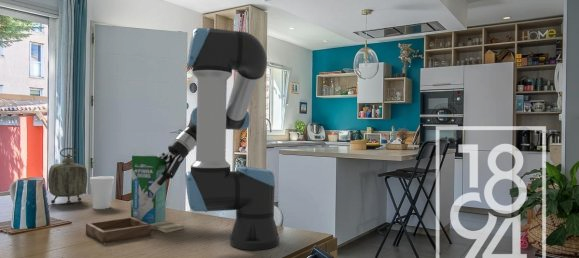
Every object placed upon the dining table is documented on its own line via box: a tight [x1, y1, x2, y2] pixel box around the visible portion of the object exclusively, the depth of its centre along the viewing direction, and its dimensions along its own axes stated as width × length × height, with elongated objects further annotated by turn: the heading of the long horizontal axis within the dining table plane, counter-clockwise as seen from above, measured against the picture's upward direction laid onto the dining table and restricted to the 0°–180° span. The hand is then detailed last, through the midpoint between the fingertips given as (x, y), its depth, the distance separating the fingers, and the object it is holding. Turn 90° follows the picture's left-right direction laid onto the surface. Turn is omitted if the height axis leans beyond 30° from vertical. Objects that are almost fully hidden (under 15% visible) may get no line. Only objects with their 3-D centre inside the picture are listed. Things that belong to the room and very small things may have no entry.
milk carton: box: [130, 154, 167, 224], centre depth 147 cm, size 9×9×25 cm
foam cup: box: [89, 175, 115, 210], centre depth 173 cm, size 10×9×13 cm
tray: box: [85, 216, 152, 245], centre depth 130 cm, size 15×15×3 cm
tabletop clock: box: [47, 147, 88, 205], centre depth 181 cm, size 14×9×25 cm, turn 130°
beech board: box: [150, 220, 184, 233], centre depth 140 cm, size 10×7×1 cm
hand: (142, 188), depth 145 cm, fingers open, 12 cm apart
